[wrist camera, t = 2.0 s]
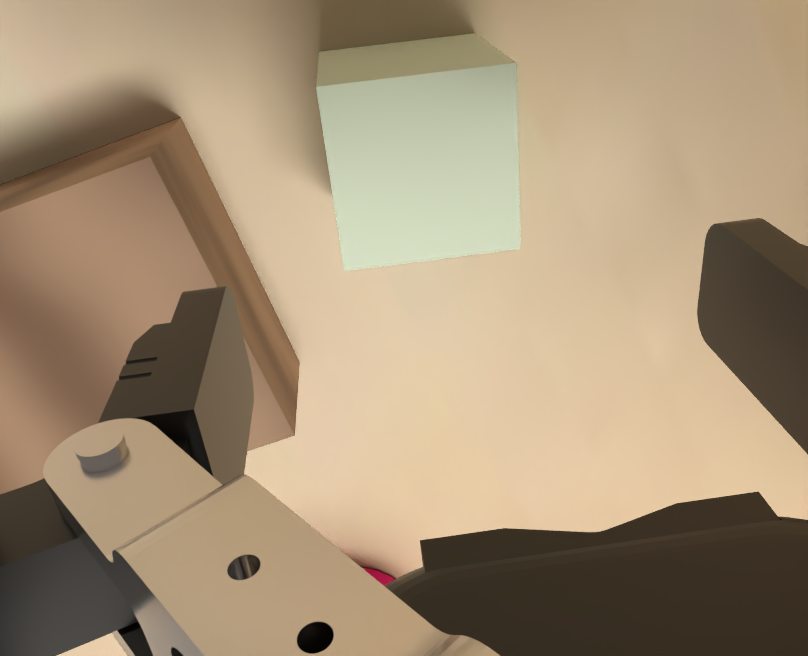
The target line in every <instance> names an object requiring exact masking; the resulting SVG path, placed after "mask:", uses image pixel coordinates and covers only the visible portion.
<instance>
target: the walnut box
mask: <svg viewBox="0 0 808 656" xmlns="http://www.w3.org/2000/svg"><path fill="white" fill-rule="evenodd" d="M223 286H229V287H230V289H231V291H232V293H233V296H234V299H235V303H236V308H237V312H238V316H239V320H240V325H241V329H242V333H243V337H244V341H245V346H246V350H247V354H248V358H249V363H250V367H251V372H252V379H253V388H254V404H253V412H252V419H251V426H250V433H249V441H248V448H247V451H249V450H252V449H255V448H258V447H261V446H264V445H267V444H270V443H273V442H276V441H279V440H282V439H285V438H288V437H291V436H294V435H295V423H296V408H297V393H298V378H299V363H300V362H299V360H298V358H297V356H296V354H295V352H294V350H293V348H292V346H291V344H290V342H289V339H288V337H287V335H286V333H285V331H284V329H283V327H282V325H281V323H280V321H279V319H278V317H277V315H276V313H275V311H274V309H273V306H272V304H271V302H270V300H269V298H268V296H267V294H266V292H265V290H264V288H263V286H262V284H261V282H260V280H259V278H258V276H257V273H256V271H255V269H254V267H253V265H252V263H251V261H250V259H249V257H248V255H247V253H246V251H245V249H244V247H243V245H242V243H241V240H240V238H239V236H238V234H237V232H236V230H235V228H234V226H233V224H232V222H231V220H230V218H229V216H228V214H227V212H226V210H225V207H224V205H223V203H222V201H221V199H220V197H219V195H218V193H217V191H216V189H215V187H214V185H213V183H212V181H211V179H210V177H209V174H208V172H207V170H206V168H205V166H204V164H203V162H202V160H201V158H200V156H199V154H198V152H197V150H196V148H195V146H194V144H193V141H192V139H191V137H190V135H189V133H188V131H187V129H186V127H185V125H184V123H183V121H182V119H181V118H178V119H175V120H172V121H170V122H167V123H164V124H162V125H159V126H156V127H154V128H151V129H148V130H146V131H143V132H140V133H138V134H135V135H132V136H130V137H127V138H124V139H122V140H119V141H116V142H113V143H111V144H108V145H105V146H103V147H100V148H97V149H95V150H92V151H89V152H87V153H84V154H81V155H79V156H76V157H73V158H71V159H68V160H65V161H62V162H60V163H57V164H54V165H52V166H49V167H46V168H44V169H41V170H38V171H36V172H33V173H30V174H28V175H25V176H22V177H20V178H17V179H14V180H11V181H9V182H6V183H3V184H1V185H0V494H3V493H6V492H9V491H12V490H15V489H18V488H21V487H24V486H26V485H29V484H32V483H34V482H37V481H39V480H41V479H43V478H44V475H43V468H44V464H45V462H46V459H47V458H48V456H49V455H50V453H51V452H52V451H53V450H54V449H55V448H56V447H57V446H58V445H59V444H60V443H62V442H63V441H64V440H65V439H67V438H68V437H70V436H71V435H73V434H75V433H77V432H79V431H80V430H83V429H85V428H87V427H89V426H92V425H95V424H98V422H99V420H100V417H101V415H102V413H103V411H104V408H105V406H106V404H107V402H108V399H109V397H110V395H111V393H112V390H113V388H114V386H115V384H116V381H118V380H119V375H120V372H121V370H122V368H123V366H124V365H126V362H125V361H126V359H127V357H128V354H129V352H130V350H131V348H132V345H133V343H134V342H135V341H136V340H137V339H138V338H140V337H141V336H142V335H143V334H144V333H145V332H146V331H147V330H149V329H150V328H151V327H152V326H153V325H156V324H164V323H171V320H172V318H173V315H174V312H175V310H176V307H177V304H178V302H179V299H180V296H181V294H182V292H184V291H192V290H200V289H207V288H215V287H223Z"/></svg>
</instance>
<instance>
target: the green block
mask: <svg viewBox="0 0 808 656" xmlns="http://www.w3.org/2000/svg"><path fill="white" fill-rule="evenodd" d="M316 91H317V98H318V104H319V111H320V117H321V124H322V130H323V137H324V143H325V150H326V157H327V163H328V170H329V176H330V183H331V189H332V196H333V202H334V209H335V215H336V222H337V229H338V235H339V242H340V248H341V255H342V261H343V268H344V271H351V270H359V269H367V268H375V267H383V266H390V265H398V264H406V263H414V262H422V261H429V260H437V259H445V258H453V257H461V256H469V255H476V254H484V253H492V252H500V251H508V250H516V249H521V230H520V188H519V146H518V104H517V63H516V62H515V61H513V60H512V59H511V58H509V57H508V56H506V55H505V54H504V53H502V52H501V51H499V50H498V49H497V48H495V47H494V46H492V45H491V44H490V43H488V42H487V41H485V40H484V39H483V38H481V37H480V36H478V35H477V34H476V33H472V34H463V35H455V36H447V37H438V38H430V39H421V40H413V41H405V42H396V43H388V44H379V45H371V46H363V47H354V48H346V49H337V50H329V51H320V52H319V58H318V69H317V80H316Z"/></svg>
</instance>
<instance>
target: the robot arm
mask: <svg viewBox="0 0 808 656" xmlns="http://www.w3.org/2000/svg"><path fill="white" fill-rule="evenodd" d="M697 316H698V323H699V328H700V331H701V334H702V336H703V339H704V340H705V342H706V343H707V345H708V346H709V347H710V348H711V349H712V350H713V351H714V352H715V353H716V354H717V356H718V357H719V358H720V359H721V360H722V361H723V362H724V363H725V364H726V365H727V366H728V368H729V369H730V370H731V371H732V372H733V373H734V374H735V375H736V376H737V377H738V378H739V380H740V381H741V382H742V383H743V384H744V385H745V386H746V387H747V388H748V389H749V390H750V392H751V393H752V394H753V395H754V396H755V397H756V398H757V399H758V400H759V401H760V402H761V404H762V405H763V406H764V407H765V408H766V409H767V410H768V411H769V412H770V413H771V415H772V416H773V417H774V418H775V419H776V420H777V421H778V422H779V423H780V424H781V425H782V427H783V428H784V429H785V430H786V431H787V432H788V433H789V434H790V435H791V436H792V437H793V439H794V440H795V441H796V442H797V443H798V444H799V445H800V446H801V447H802V448H803V449H804V451H805V452H806V453H807V454H808V246H805V245H802V244H799V243H798V242H796V241H795V240H793V239H792V238H790V237H789V236H787V235H786V234H784V233H783V232H782V231H780V230H779V229H777V228H776V227H774V226H773V225H771V224H770V223H768V222H767V221H765V220H763V219H761V218H756V219H749V220H741V221H733V222H725V223H718V224H714V225H712V226H711V227H710V229H709V230H708V233H707V235H706V240H705V247H704V256H703V264H702V273H701V282H700V291H699V299H698V309H697ZM125 362H126V365H124V366H123V368H122V370H121V372H120V375H119V380H118V381H116V384H115V386H114V388H113V390H112V393H111V395H110V397H109V399H108V402H107V404H106V406H105V408H104V411H103V413H102V415H101V417H100V420H99V422H98V424H95V425H92V426H89V427H87V428H85V429H83V430H80V431H79V432H77V433H75V434H73V435H71V436H70V437H68V438H67V439H65V440H64V441H63V442H62V443H60V444H59V445H58V446H57V447H56V448H55V449H54V450H53V451H52V452H51V453H50V455H49V456H48V458H47V459H46V462H45V464H44V468H43V475H44V478H43V479H41V480H39V481H37V482H34V483H32V484H29V485H26V486H24V487H21V488H18V489H15V490H12V491H9V492H6V493H3V494H0V656H56V655H59V654H61V653H64V652H66V651H68V650H71V649H73V648H76V647H78V646H80V645H83V644H85V643H88V642H90V641H93V640H95V639H97V638H100V637H102V636H105V635H107V634H109V633H113V635H114V637H115V638H116V640H117V641H118V643H119V644H120V646H121V647H122V648H123V650H124V651H125V653H126V654H127V655H128V656H808V520H804V519H796V518H789V517H778V516H777V515H776V514H775V512H774V511H773V510H772V509H771V507H770V506H769V505H768V503H767V502H766V501H765V499H764V498H763V497H762V496H761V494H760V493H759V492H753V493H746V494H739V495H732V496H725V497H718V498H711V499H704V500H697V501H690V502H683V503H677V504H674V505H671V506H669V507H666V508H663V509H661V510H658V511H655V512H653V513H650V514H647V515H645V516H642V517H639V518H637V519H634V520H632V521H629V522H626V523H624V524H621V525H618V526H616V527H613V528H610V529H608V530H605V531H601V532H569V531H548V530H528V529H507V528H503V529H496V530H490V531H483V532H476V533H469V534H462V535H455V536H448V537H441V538H434V539H427V540H420V544H421V553H422V561H423V567H422V568H419V569H417V570H414V571H412V572H409V573H407V574H405V575H403V576H401V577H399V578H397V579H395V580H393V581H391V582H390V583H388V584H386V585H385V586H383V585H382V584H381V583H380V582H379V581H377V580H376V579H375V578H374V577H372V576H371V575H370V574H369V573H368V572H366V571H365V570H364V569H363V568H361V567H360V566H359V565H358V564H357V563H355V562H354V561H353V560H352V559H350V558H349V557H348V556H347V555H346V554H344V553H343V552H342V551H341V550H339V549H338V548H337V547H336V546H335V545H333V544H332V543H331V542H330V541H328V540H327V539H326V538H325V537H324V536H322V535H321V534H320V533H319V532H317V531H316V530H315V529H314V528H313V527H311V526H310V525H309V524H308V523H306V522H305V521H304V520H303V519H302V518H300V517H299V516H298V515H297V514H295V513H294V512H293V511H292V510H291V509H289V508H288V507H287V506H286V505H284V504H283V503H282V502H281V501H280V500H278V499H277V498H276V497H275V496H273V495H272V494H271V493H270V492H269V491H267V490H266V489H265V488H264V487H262V486H261V485H260V484H259V483H258V482H256V481H255V480H254V479H252V478H251V477H249V476H247V475H244V469H245V462H246V455H247V448H248V441H249V433H250V426H251V419H252V412H253V404H254V388H253V379H252V372H251V367H250V363H249V358H248V354H247V350H246V346H245V341H244V337H243V333H242V329H241V325H240V320H239V316H238V312H237V308H236V303H235V299H234V296H233V293H232V291H231V289H230V287H229V286H223V287H215V288H207V289H200V290H192V291H184V292H182V294H181V296H180V299H179V302H178V304H177V307H176V310H175V312H174V315H173V318H172V320H171V323H164V324H156V325H153V326H152V327H151V328H150V329H149V330H147V331H146V332H145V333H144V334H143V335H142V336H141V337H140V338H138V339H137V340H136V341H135V342H134V343H133V345H132V348H131V350H130V352H129V354H128V357H127V359H126V361H125Z"/></svg>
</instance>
